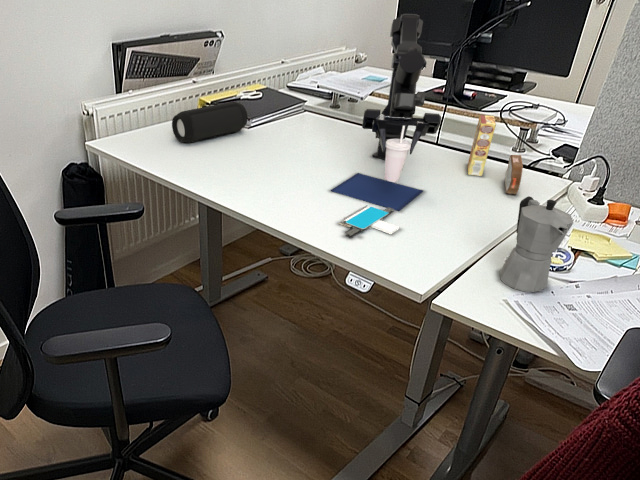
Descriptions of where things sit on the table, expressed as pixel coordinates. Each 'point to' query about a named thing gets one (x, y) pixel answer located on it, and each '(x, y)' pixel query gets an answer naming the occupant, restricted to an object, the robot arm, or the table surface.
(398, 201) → the cloth
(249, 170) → the table surface
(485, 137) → the candy box
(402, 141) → the smoothie
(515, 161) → the tin
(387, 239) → the table surface
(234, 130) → the portable speaker
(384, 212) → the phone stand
